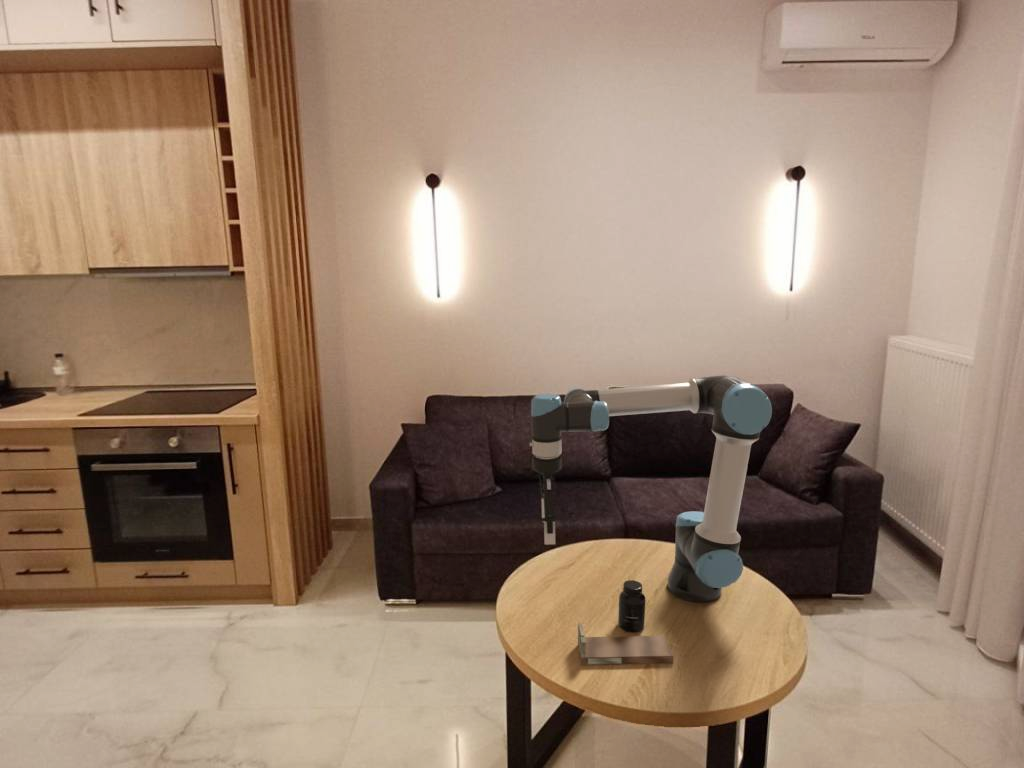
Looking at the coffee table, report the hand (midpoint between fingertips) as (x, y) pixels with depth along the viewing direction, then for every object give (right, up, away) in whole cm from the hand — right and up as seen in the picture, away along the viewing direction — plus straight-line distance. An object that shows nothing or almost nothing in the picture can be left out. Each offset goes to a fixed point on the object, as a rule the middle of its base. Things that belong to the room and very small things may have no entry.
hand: (548, 532), depth 161 cm
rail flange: (+18, -28, -10) cm, 34 cm away
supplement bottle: (+22, -25, +1) cm, 34 cm away
